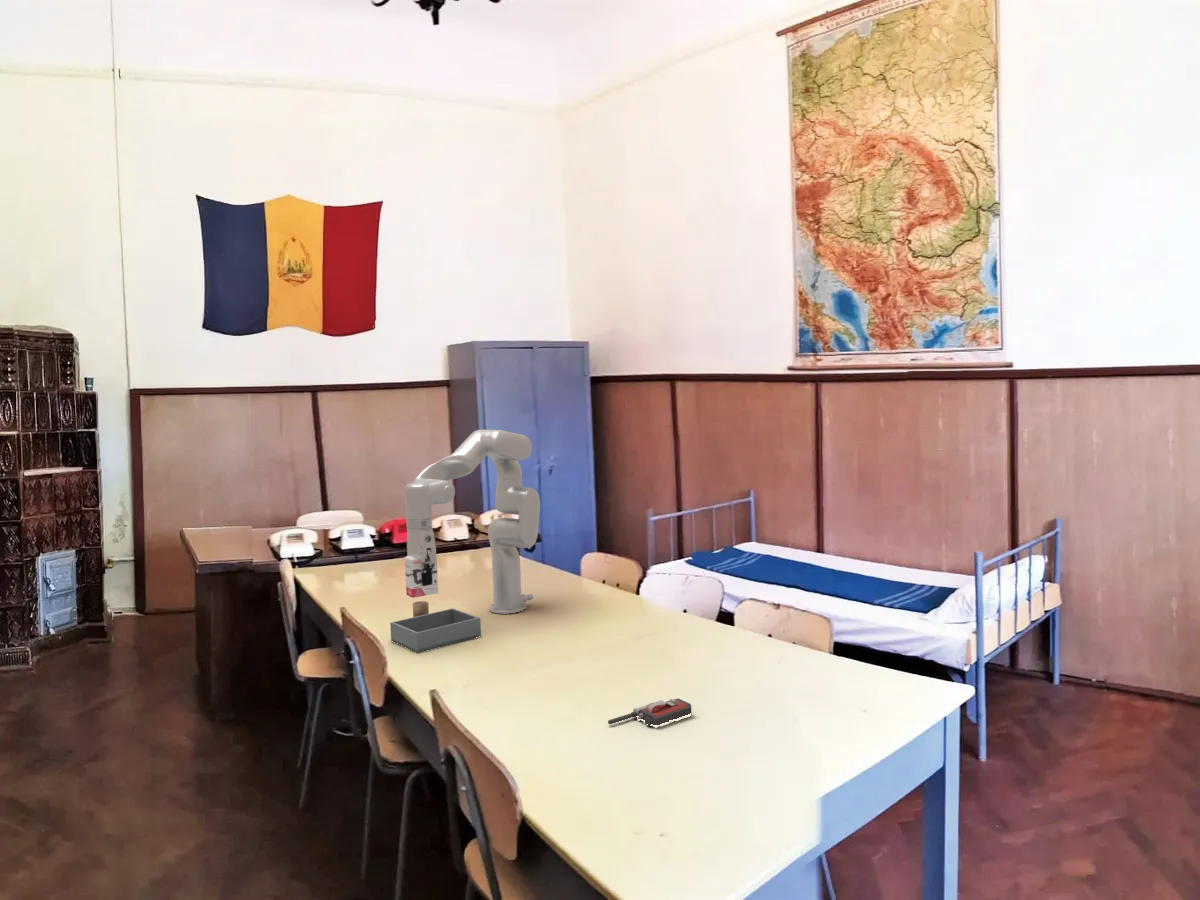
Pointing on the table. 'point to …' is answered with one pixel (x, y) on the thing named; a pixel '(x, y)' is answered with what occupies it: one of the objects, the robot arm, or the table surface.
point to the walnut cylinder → (420, 608)
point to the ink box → (419, 578)
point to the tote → (435, 630)
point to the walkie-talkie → (658, 712)
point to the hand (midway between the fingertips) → (422, 582)
